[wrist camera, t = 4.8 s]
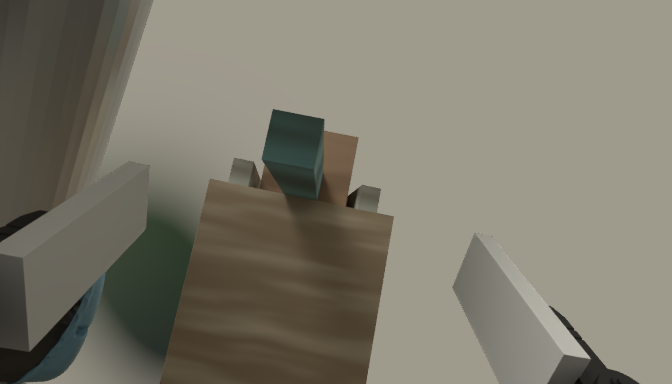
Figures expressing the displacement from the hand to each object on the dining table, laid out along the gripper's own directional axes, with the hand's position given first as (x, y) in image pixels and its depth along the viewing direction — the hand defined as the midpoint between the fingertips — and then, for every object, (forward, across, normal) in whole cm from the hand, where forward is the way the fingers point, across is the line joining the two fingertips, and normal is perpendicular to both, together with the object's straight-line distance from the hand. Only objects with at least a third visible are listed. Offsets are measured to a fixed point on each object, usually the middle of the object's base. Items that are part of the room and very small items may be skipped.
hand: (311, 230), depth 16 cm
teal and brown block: (+12, -1, -4) cm, 13 cm away
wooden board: (+4, 0, -34) cm, 34 cm away
